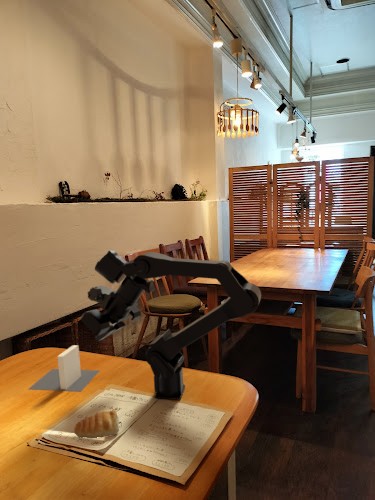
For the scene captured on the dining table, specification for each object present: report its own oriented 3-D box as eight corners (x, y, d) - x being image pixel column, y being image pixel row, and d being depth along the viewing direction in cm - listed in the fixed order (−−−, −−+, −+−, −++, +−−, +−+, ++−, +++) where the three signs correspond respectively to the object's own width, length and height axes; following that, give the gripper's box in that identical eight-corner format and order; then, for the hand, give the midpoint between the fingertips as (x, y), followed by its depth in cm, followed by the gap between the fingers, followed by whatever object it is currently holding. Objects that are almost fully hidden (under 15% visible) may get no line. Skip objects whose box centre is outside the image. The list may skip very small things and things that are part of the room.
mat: (100, 372, 107) (99, 370, 107) (81, 393, 95) (80, 391, 95) (52, 370, 110) (52, 368, 110) (28, 391, 98) (28, 389, 98)
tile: (81, 376, 104) (78, 345, 103) (66, 389, 97) (62, 356, 96) (75, 375, 104) (72, 345, 103) (60, 388, 97) (57, 356, 96)
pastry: (74, 445, 75) (72, 428, 75) (75, 427, 82) (73, 410, 81) (120, 435, 77) (119, 418, 77) (118, 418, 84) (116, 402, 84)
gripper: (126, 271, 104) (99, 313, 108) (82, 278, 87) (52, 327, 91) (154, 297, 101) (125, 339, 105) (113, 309, 84) (81, 358, 88)
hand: (97, 339), depth 97 cm, fingers closed
